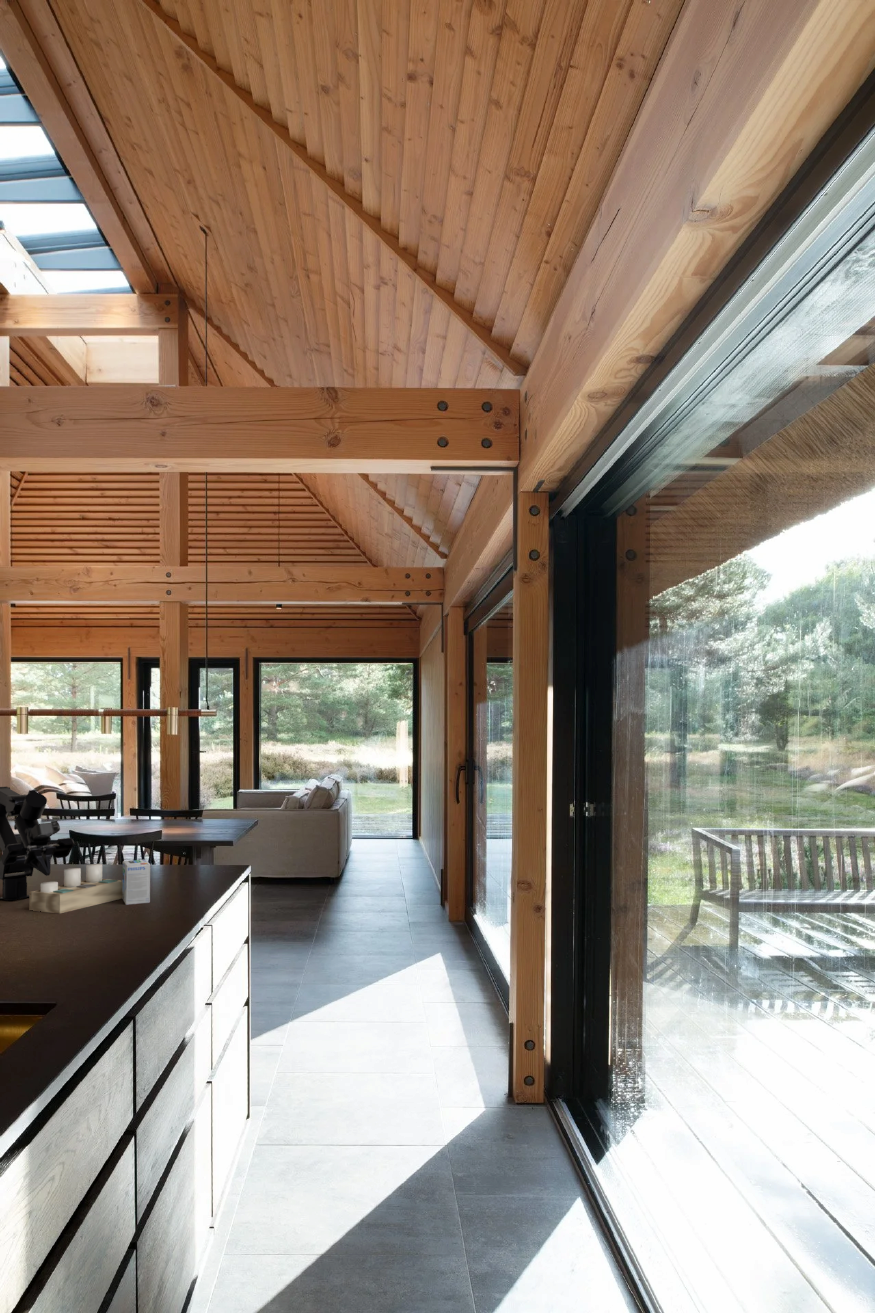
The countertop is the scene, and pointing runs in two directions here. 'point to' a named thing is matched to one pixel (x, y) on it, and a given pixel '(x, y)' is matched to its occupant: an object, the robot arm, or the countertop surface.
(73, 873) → the button
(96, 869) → the button
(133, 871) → the light bulb box
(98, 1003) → the countertop surface
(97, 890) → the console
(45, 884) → the button
